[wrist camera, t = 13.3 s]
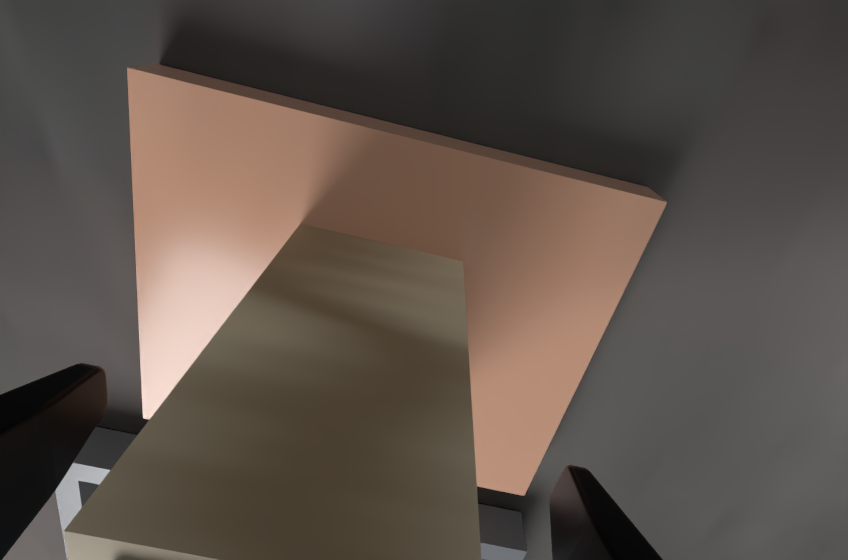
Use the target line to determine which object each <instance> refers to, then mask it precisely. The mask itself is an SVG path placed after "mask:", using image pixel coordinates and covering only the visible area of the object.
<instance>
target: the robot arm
mask: <svg viewBox="0 0 848 560" xmlns="http://www.w3.org/2000/svg"><path fill="white" fill-rule="evenodd" d="M107 405H108V391H107V380H106V372H105V370H104V369H103V368H101V367H99V366H94V365H89V364H84V363H80V364H76V365H73V366H71V367H68V368H66V369H63V370H61V371H58V372H56V373H53V374H51V375H48V376H46V377H43V378H41V379H38V380H36V381H33V382H31V383H28V384H26V385H23V386H21V387H18V388H16V389H13V390H11V391H8V392H6V393H3V394H1V395H0V560H2V559H3V558H4V556H5V555H6V554H7V552H8V551H9V550H10V548H11V547H12V546H13V545H14V543H15V542H16V541H17V539H18V538H19V537H20V536H21V534H22V533H23V532H24V530H25V529H26V528H27V527H28V525H29V524H30V523H31V521H32V520H33V519H34V517H35V516H36V515H37V514H38V512H39V511H40V510H41V508H42V507H43V506H44V505H45V503H46V502H47V501H48V499H49V498H50V497H51V495H52V494H53V493H54V491H55V490H56V489H57V487H58V486H59V484H60V483H61V481H62V480H63V478H64V477H65V475H66V474H67V472H68V470H69V469H70V467H71V466H72V464H73V462H74V461H75V459H76V458H77V456H78V454H79V453H80V451H81V450H82V448H83V446H84V445H85V443H86V442H87V440H88V438H89V437H90V435H91V434H92V432H93V430H94V429H95V427H96V426H97V424H98V422H99V421H100V419H101V418H102V416H103V414H104V413H105V411H106V408H107ZM550 520H551V539H552V558H553V560H663V559H662V558H661V557H660V556H659V555H658V553H657V552H656V551H655V550H654V549H653V547H652V546H651V545H650V544H649V542H648V541H647V540H646V539H645V538H644V536H643V535H642V534H641V533H640V532H639V530H638V529H637V528H636V527H635V526H634V524H633V523H632V522H631V521H630V519H629V518H628V517H627V516H626V515H625V513H624V512H623V511H622V510H621V509H620V507H619V506H618V505H617V504H616V503H615V501H614V500H613V499H612V498H611V496H610V495H609V494H608V493H607V492H606V490H605V489H604V488H603V487H602V486H601V484H600V483H599V482H598V481H597V480H596V478H595V477H594V476H593V475H592V473H591V472H590V471H589V470H587V469H586V468H582V467H577V466H573V465H567V466H566V467H564V469H563V470H562V472H561V474H560V476H559V478H558V480H557V482H556V484H555V486H554V488H553V490H552V492H551V495H550Z"/></svg>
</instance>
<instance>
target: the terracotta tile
mask: <svg viewBox="0 0 848 560" xmlns="http://www.w3.org/2000/svg"><path fill="white" fill-rule="evenodd" d="M127 75H128V97H129V119H130V141H131V163H132V185H133V208H134V230H135V252H136V274H137V296H138V318H139V341H140V363H141V385H142V407H143V418H144V419H149V420H150V418H151V417H152V416H153V414H154V413H155V412H156V411H157V409H158V408H159V407H160V405H161V404H162V403H163V401H164V400H165V399H166V398H167V396H168V395H169V394H170V392H171V391H172V390H173V388H174V387H175V386H176V385H177V383H178V382H179V381H180V379H181V378H182V377H183V375H184V374H185V373H186V372H187V370H188V369H189V368H190V366H191V365H192V364H193V362H194V361H195V360H196V359H197V357H198V356H199V355H200V353H201V352H202V351H203V349H204V348H205V347H206V346H207V344H208V343H209V342H210V340H211V339H212V338H213V336H214V335H215V334H216V333H217V331H218V330H219V329H220V327H221V326H222V325H223V323H224V322H225V321H226V320H227V318H228V317H229V316H230V314H231V313H232V312H233V310H234V309H235V308H236V307H237V305H238V304H239V303H240V301H241V300H242V299H243V297H244V296H245V295H246V294H247V292H248V291H249V290H250V288H251V287H252V286H253V284H254V283H255V282H256V281H257V279H258V278H259V277H260V275H261V274H262V273H263V271H264V270H265V269H266V268H267V266H268V265H269V264H270V262H271V261H272V260H273V258H274V257H275V256H276V255H277V253H278V252H279V251H280V249H281V248H282V247H283V245H284V244H285V243H286V242H287V240H288V239H289V238H290V236H291V235H292V234H293V232H294V231H295V230H296V229H297V227H298V226H299V225H300V224H304V225H309V226H313V227H317V228H322V229H326V230H330V231H335V232H339V233H343V234H348V235H352V236H356V237H361V238H365V239H369V240H374V241H378V242H382V243H387V244H391V245H395V246H400V247H404V248H408V249H413V250H417V251H421V252H425V253H430V254H434V255H438V256H443V257H447V258H451V259H456V260H460V261H463V268H464V284H465V300H466V317H467V333H468V350H469V366H470V382H471V399H472V415H473V431H474V448H475V464H476V480H477V486H478V487H483V488H487V489H492V490H497V491H502V492H507V493H512V494H517V495H522V496H524V495H525V493H526V491H527V489H528V487H529V485H530V483H531V481H532V479H533V477H534V475H535V473H536V471H537V469H538V466H539V464H540V462H541V460H542V458H543V456H544V454H545V452H546V450H547V448H548V446H549V444H550V442H551V440H552V438H553V436H554V434H555V432H556V430H557V428H558V425H559V423H560V421H561V419H562V417H563V415H564V413H565V411H566V409H567V407H568V405H569V403H570V401H571V399H572V397H573V395H574V393H575V391H576V389H577V387H578V385H579V382H580V380H581V378H582V376H583V374H584V372H585V370H586V368H587V366H588V364H589V362H590V360H591V358H592V356H593V354H594V352H595V350H596V348H597V346H598V344H599V341H600V339H601V337H602V335H603V333H604V331H605V329H606V327H607V325H608V323H609V321H610V319H611V317H612V315H613V313H614V311H615V309H616V307H617V305H618V303H619V300H620V298H621V296H622V294H623V292H624V290H625V288H626V286H627V284H628V282H629V280H630V278H631V276H632V274H633V272H634V270H635V268H636V266H637V264H638V262H639V260H640V257H641V255H642V253H643V251H644V249H645V247H646V245H647V243H648V241H649V239H650V237H651V235H652V233H653V231H654V229H655V227H656V225H657V223H658V221H659V219H660V216H661V214H662V212H663V210H664V208H665V206H666V204H667V202H666V201H665V200H664V199H663V198H661V197H660V196H659V195H657V194H656V193H655V192H654V191H652V190H651V189H650V188H649V187H646V186H642V185H638V184H634V183H630V182H626V181H622V180H618V179H614V178H610V177H606V176H602V175H598V174H594V173H590V172H586V171H582V170H578V169H574V168H570V167H566V166H562V165H558V164H554V163H550V162H546V161H542V160H538V159H534V158H530V157H526V156H522V155H518V154H514V153H510V152H506V151H502V150H498V149H494V148H490V147H486V146H482V145H478V144H474V143H470V142H466V141H462V140H458V139H454V138H450V137H447V136H443V135H439V134H435V133H431V132H427V131H423V130H419V129H415V128H411V127H407V126H403V125H399V124H395V123H391V122H387V121H383V120H379V119H375V118H371V117H367V116H363V115H359V114H355V113H351V112H347V111H343V110H339V109H335V108H331V107H327V106H323V105H319V104H315V103H311V102H307V101H303V100H299V99H295V98H291V97H287V96H283V95H279V94H275V93H271V92H267V91H263V90H259V89H255V88H251V87H247V86H243V85H239V84H235V83H231V82H227V81H223V80H219V79H215V78H211V77H207V76H203V75H199V74H195V73H191V72H187V71H184V70H180V69H176V68H172V67H168V66H164V65H160V64H154V65H145V66H136V67H128V68H127Z"/></svg>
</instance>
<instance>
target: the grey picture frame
mask: <svg viewBox="0 0 848 560" xmlns="http://www.w3.org/2000/svg"><path fill="white" fill-rule="evenodd" d="M136 437H137V435H135V434H130V433H125V432H120V431H115V430H110V429H105V428H100V427H95V429H94V430H93V432H92V434H91V435H90V437H89V438H88V440H87V442H86V443H85V445H84V446H83V448H82V450H81V451H80V453H79V454H78V456H77V458H76V459H75V461H74V462H73V464H72V466H71V467H70V469H69V470H68V472H67V474H66V475H65V477H64V478H63V480H62V481H61V483H60V484H59V486H58V487H57V489H56V490H55V492H56V498H57V503H58V509H59V515H60V521H61V527H62V532H63V538H64V544H65V550H66V556H67V560H69V557H68V552H67V546H66V540H65V535H64V530H65V529H66V528H67V526H68V525H69V524H70V522H71V521H72V520H73V518H74V517H75V516H76V515H77V513H78V512H79V511H80V509H81V508H82V507H83V505H84V504H85V503H86V502H87V500H88V499H89V498H90V496H91V495H92V494H93V492H94V491H95V490H96V489H97V487H98V486H99V485H100V483H101V482H102V481H103V479H104V478H105V477H106V476H107V474H108V473H109V472H110V470H111V469H112V468H113V466H114V465H115V464H116V463H117V461H118V460H119V459H120V457H121V456H122V455H123V453H124V452H125V451H126V450H127V448H128V447H129V446H130V444H131V443H132V442H133V440H134V439H135V438H136ZM478 513H479V529H480V546H481V560H523V558H524V557H525V555H526V553H527V548H526V541H525V534H524V528H523V521H522V514H521V512H518V511H513V510H508V509H503V508H498V507H493V506H488V505H483V504H478Z"/></svg>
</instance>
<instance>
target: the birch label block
mask: <svg viewBox="0 0 848 560" xmlns="http://www.w3.org/2000/svg"><path fill="white" fill-rule="evenodd" d="M64 535H65V540H66V546H67V552H68V557H69V560H481V546H480V529H479V513H478V497H477V480H476V464H475V448H474V431H473V415H472V399H471V382H470V366H469V350H468V333H467V317H466V300H465V284H464V268H463V261H460V260H456V259H451V258H447V257H443V256H438V255H434V254H430V253H425V252H421V251H417V250H413V249H408V248H404V247H400V246H395V245H391V244H387V243H382V242H378V241H374V240H369V239H365V238H361V237H356V236H352V235H348V234H343V233H339V232H335V231H330V230H326V229H322V228H317V227H313V226H309V225H304V224H300V225H299V226H298V227H297V229H296V230H295V231H294V232H293V234H292V235H291V236H290V238H289V239H288V240H287V242H286V243H285V244H284V245H283V247H282V248H281V249H280V251H279V252H278V253H277V255H276V256H275V257H274V258H273V260H272V261H271V262H270V264H269V265H268V266H267V268H266V269H265V270H264V271H263V273H262V274H261V275H260V277H259V278H258V279H257V281H256V282H255V283H254V284H253V286H252V287H251V288H250V290H249V291H248V292H247V294H246V295H245V296H244V297H243V299H242V300H241V301H240V303H239V304H238V305H237V307H236V308H235V309H234V310H233V312H232V313H231V314H230V316H229V317H228V318H227V320H226V321H225V322H224V323H223V325H222V326H221V327H220V329H219V330H218V331H217V333H216V334H215V335H214V336H213V338H212V339H211V340H210V342H209V343H208V344H207V346H206V347H205V348H204V349H203V351H202V352H201V353H200V355H199V356H198V357H197V359H196V360H195V361H194V362H193V364H192V365H191V366H190V368H189V369H188V370H187V372H186V373H185V374H184V375H183V377H182V378H181V379H180V381H179V382H178V383H177V385H176V386H175V387H174V388H173V390H172V391H171V392H170V394H169V395H168V396H167V398H166V399H165V400H164V401H163V403H162V404H161V405H160V407H159V408H158V409H157V411H156V412H155V413H154V414H153V416H152V417H151V418H150V420H149V421H148V422H147V424H146V425H145V426H144V427H143V429H142V430H141V431H140V433H139V434H138V435H137V437H136V438H135V439H134V440H133V442H132V443H131V444H130V446H129V447H128V448H127V450H126V451H125V452H124V453H123V455H122V456H121V457H120V459H119V460H118V461H117V463H116V464H115V465H114V466H113V468H112V469H111V470H110V472H109V473H108V474H107V476H106V477H105V478H104V479H103V481H102V482H101V483H100V485H99V486H98V487H97V489H96V490H95V491H94V492H93V494H92V495H91V496H90V498H89V499H88V500H87V502H86V503H85V504H84V505H83V507H82V508H81V509H80V511H79V512H78V513H77V515H76V516H75V517H74V518H73V520H72V521H71V522H70V524H69V525H68V526H67V528H66V529H65V530H64Z"/></svg>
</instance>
